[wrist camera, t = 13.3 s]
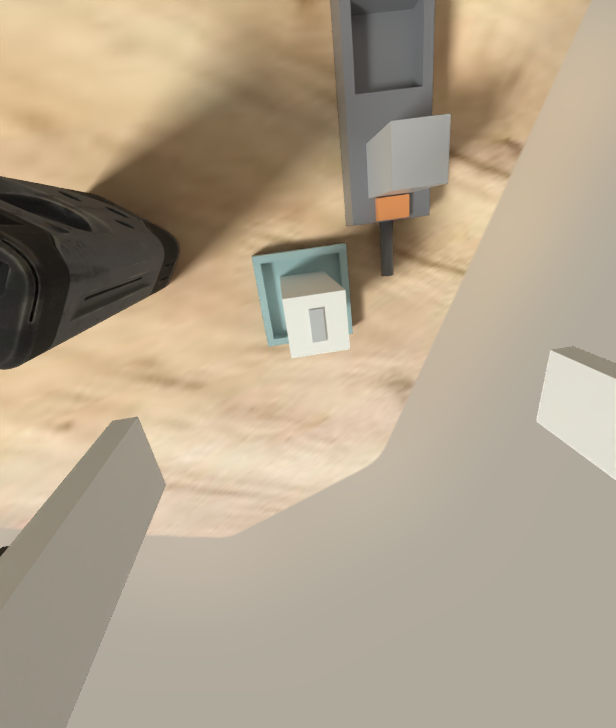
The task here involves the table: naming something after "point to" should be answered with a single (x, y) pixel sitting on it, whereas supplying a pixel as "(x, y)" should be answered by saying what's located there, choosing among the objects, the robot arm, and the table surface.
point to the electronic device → (70, 265)
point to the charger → (314, 314)
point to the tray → (294, 263)
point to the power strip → (387, 113)
